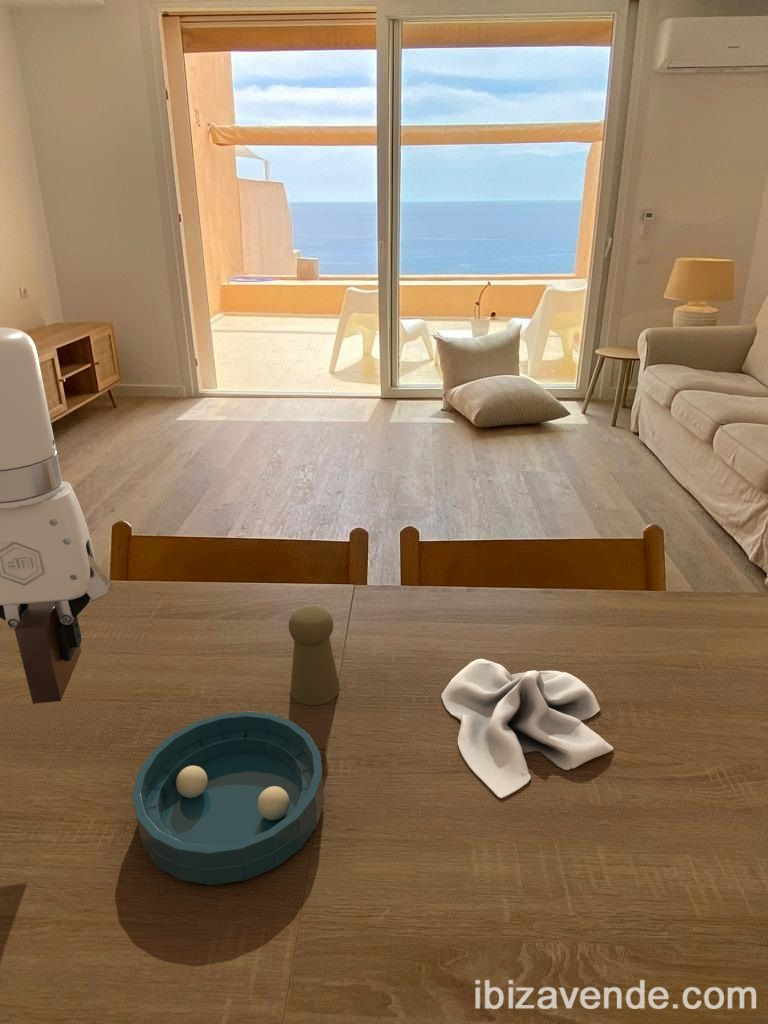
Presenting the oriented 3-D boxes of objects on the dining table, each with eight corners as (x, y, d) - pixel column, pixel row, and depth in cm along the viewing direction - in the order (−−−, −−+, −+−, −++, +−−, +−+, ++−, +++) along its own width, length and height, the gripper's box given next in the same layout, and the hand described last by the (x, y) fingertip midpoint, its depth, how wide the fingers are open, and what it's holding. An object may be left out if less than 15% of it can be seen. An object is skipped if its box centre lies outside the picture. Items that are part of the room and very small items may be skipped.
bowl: (124, 902, 59) (115, 865, 57) (155, 754, 75) (148, 721, 73) (330, 873, 62) (328, 837, 60) (317, 735, 77) (315, 703, 76)
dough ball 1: (176, 806, 68) (172, 783, 67) (180, 783, 70) (176, 760, 69) (207, 802, 68) (204, 779, 67) (210, 779, 71) (206, 757, 70)
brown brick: (32, 704, 65) (14, 629, 61) (56, 653, 72) (40, 584, 68) (60, 701, 65) (44, 627, 62) (81, 651, 72) (67, 582, 69)
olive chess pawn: (281, 698, 83) (274, 621, 79) (303, 669, 88) (298, 595, 84) (327, 710, 81) (323, 631, 77) (347, 679, 86) (344, 603, 82)
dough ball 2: (258, 829, 65) (256, 805, 64) (259, 804, 68) (256, 781, 67) (290, 825, 66) (288, 801, 64) (290, 800, 68) (288, 777, 67)
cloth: (441, 661, 90) (442, 620, 87) (588, 666, 88) (593, 626, 86) (440, 795, 69) (442, 748, 67) (630, 806, 68) (639, 758, 65)
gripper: (-111, 498, 55) (-53, 686, 63) (101, 487, 58) (133, 670, 65) (-69, 466, 62) (-22, 639, 69) (119, 458, 64) (145, 626, 72)
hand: (53, 652), depth 67 cm, fingers closed on brown brick, 2 cm apart
